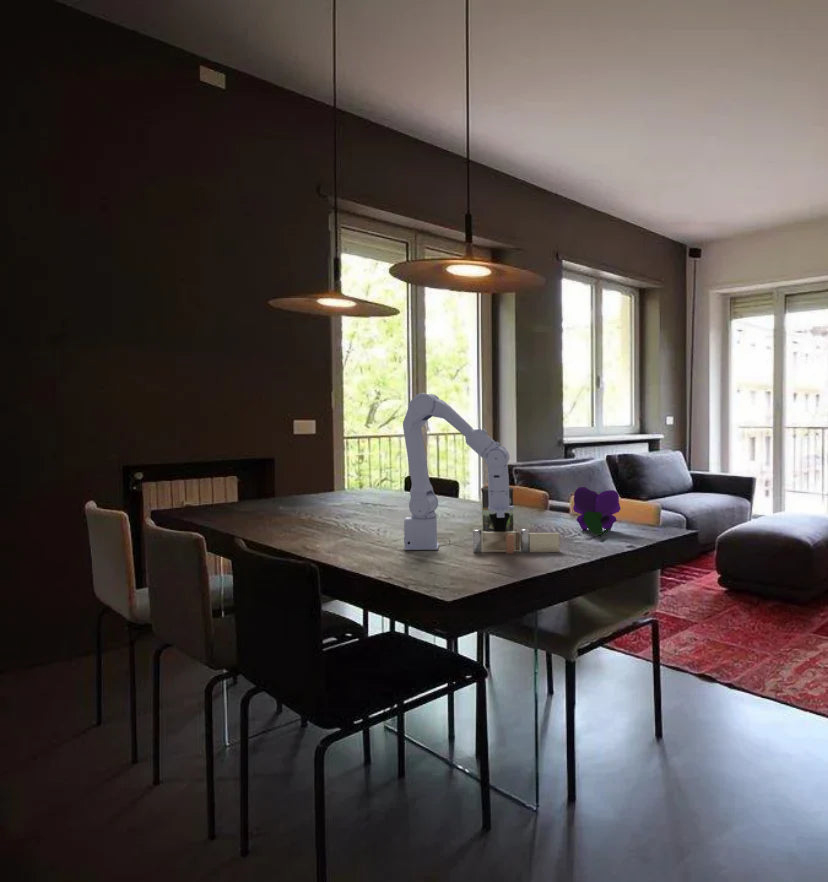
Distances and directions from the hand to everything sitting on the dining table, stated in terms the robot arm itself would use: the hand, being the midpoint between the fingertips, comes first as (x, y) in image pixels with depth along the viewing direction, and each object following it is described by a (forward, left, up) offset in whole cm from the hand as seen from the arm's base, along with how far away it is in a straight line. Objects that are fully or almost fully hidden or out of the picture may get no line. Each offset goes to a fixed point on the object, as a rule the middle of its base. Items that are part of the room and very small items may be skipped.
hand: (500, 539), depth 177 cm
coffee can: (+1, +29, -3) cm, 29 cm away
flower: (+31, +24, -3) cm, 40 cm away
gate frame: (+4, -2, -3) cm, 6 cm away
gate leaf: (0, -1, -3) cm, 3 cm away
